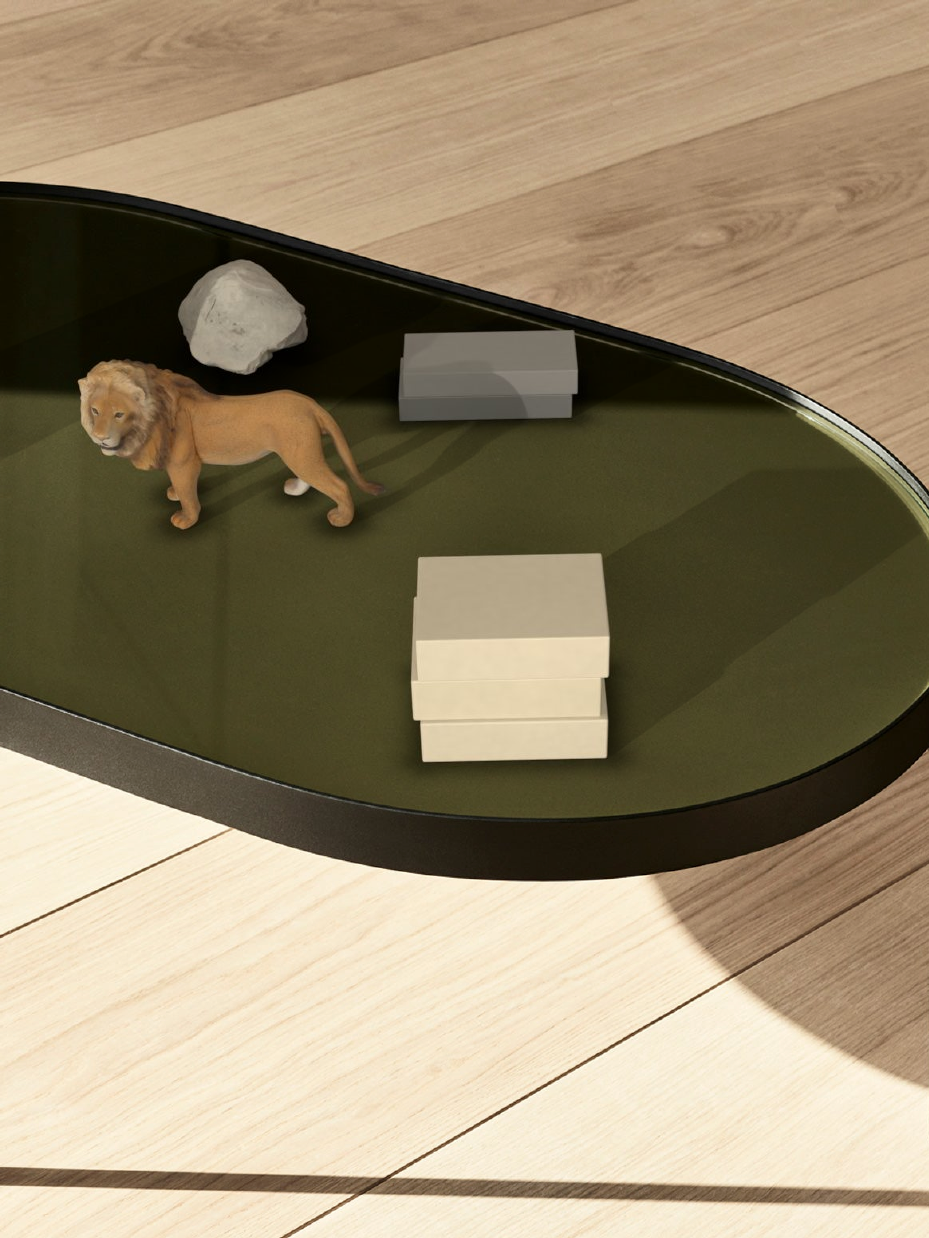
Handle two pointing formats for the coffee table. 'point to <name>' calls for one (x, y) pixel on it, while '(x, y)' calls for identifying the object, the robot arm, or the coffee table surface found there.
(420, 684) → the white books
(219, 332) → the grey stone
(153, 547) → the coffee table surface
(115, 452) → the lion figurine
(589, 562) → the cream flat block
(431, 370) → the grey block
